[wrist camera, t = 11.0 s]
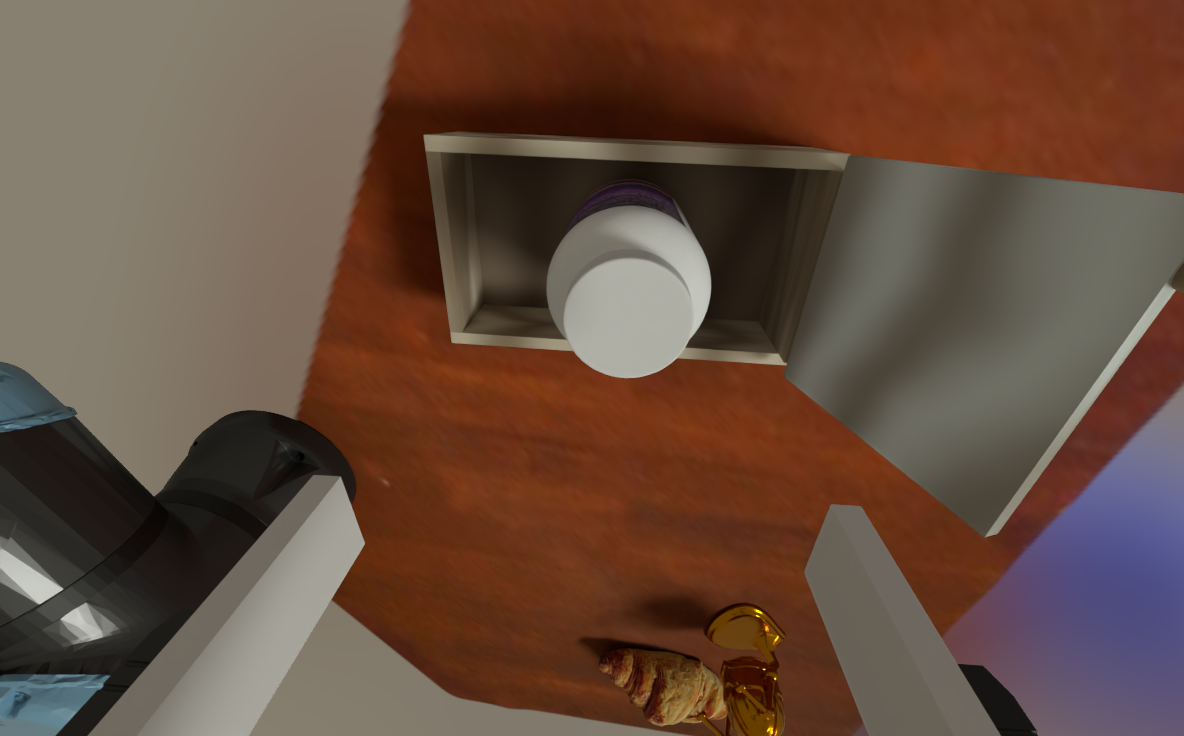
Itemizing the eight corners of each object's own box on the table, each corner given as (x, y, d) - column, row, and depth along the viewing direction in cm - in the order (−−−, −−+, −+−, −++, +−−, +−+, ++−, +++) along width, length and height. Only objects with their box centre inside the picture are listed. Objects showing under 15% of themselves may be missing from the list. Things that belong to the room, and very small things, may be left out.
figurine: (722, 593, 51) (746, 716, 40) (801, 622, 52) (843, 747, 42) (684, 629, 55) (697, 750, 44) (758, 655, 56) (787, 777, 46)
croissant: (739, 657, 63) (770, 704, 55) (707, 719, 63) (735, 775, 56) (610, 609, 59) (625, 652, 51) (577, 676, 59) (586, 729, 51)
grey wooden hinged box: (477, 310, 35) (329, 498, 18) (459, 131, 29) (204, 155, 12) (829, 332, 34) (1036, 559, 17) (890, 150, 28) (1328, 210, 10)
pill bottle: (548, 235, 31) (491, 316, 19) (633, 148, 28) (632, 174, 16) (624, 314, 34) (619, 430, 21) (711, 241, 31) (764, 329, 18)
